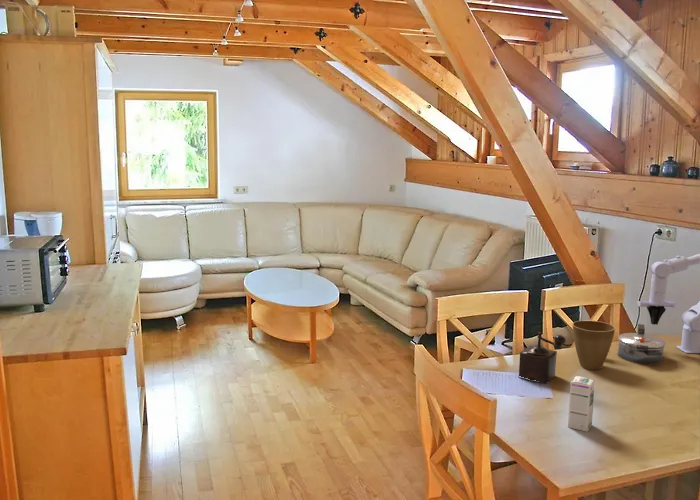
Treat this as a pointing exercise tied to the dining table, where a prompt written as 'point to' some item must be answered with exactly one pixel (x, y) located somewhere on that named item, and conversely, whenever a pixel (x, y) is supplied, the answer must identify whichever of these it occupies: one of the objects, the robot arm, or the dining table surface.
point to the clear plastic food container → (640, 354)
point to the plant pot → (592, 342)
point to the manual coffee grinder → (540, 360)
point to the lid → (641, 339)
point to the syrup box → (581, 403)
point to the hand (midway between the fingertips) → (654, 323)
